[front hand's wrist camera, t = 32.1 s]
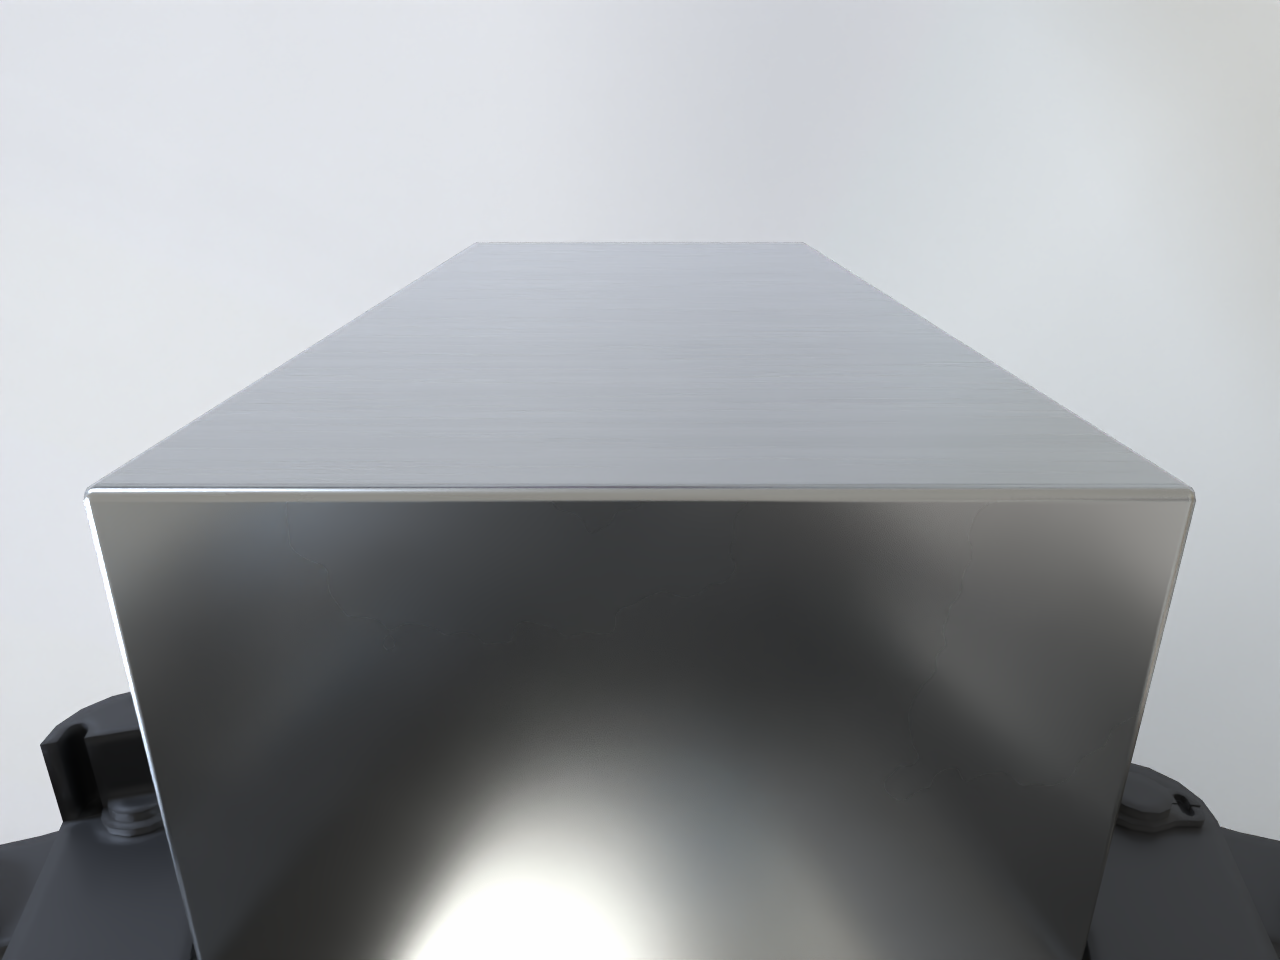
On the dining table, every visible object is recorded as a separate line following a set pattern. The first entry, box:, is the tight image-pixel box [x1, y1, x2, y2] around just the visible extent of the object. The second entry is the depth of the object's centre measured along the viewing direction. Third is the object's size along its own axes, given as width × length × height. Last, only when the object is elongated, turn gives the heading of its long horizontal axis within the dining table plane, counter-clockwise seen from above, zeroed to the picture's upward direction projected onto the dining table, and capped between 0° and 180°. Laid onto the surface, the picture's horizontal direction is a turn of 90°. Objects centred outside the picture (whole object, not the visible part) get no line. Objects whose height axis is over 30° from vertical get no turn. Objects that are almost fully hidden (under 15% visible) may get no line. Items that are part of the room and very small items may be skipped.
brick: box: [84, 242, 1196, 960], centre depth 11 cm, size 9×6×11 cm, turn 0°
